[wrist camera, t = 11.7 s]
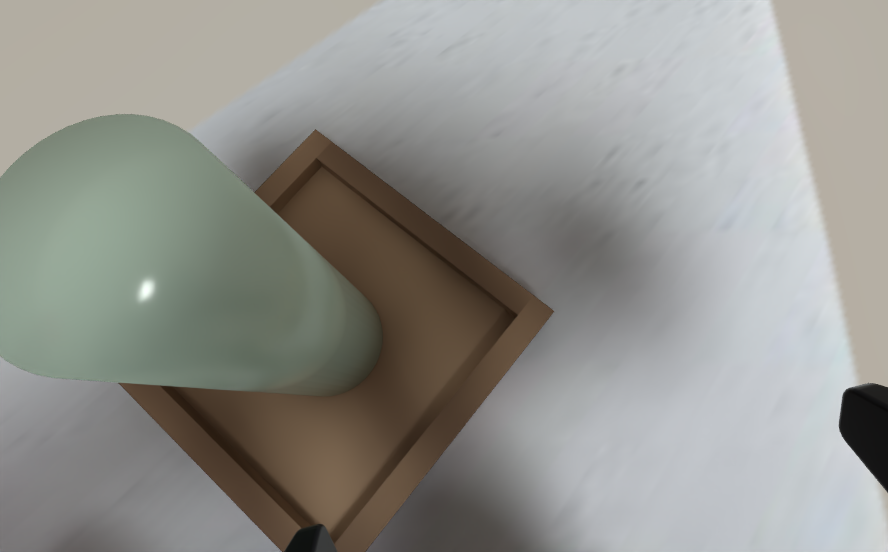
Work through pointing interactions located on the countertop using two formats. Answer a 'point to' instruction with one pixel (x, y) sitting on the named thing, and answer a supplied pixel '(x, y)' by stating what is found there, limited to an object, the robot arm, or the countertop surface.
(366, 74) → the countertop surface
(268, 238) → the sage cylinder
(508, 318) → the walnut tray
